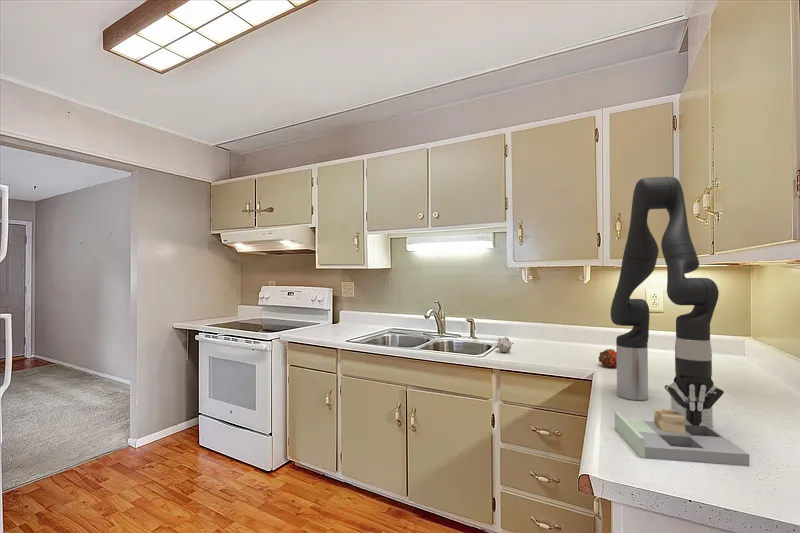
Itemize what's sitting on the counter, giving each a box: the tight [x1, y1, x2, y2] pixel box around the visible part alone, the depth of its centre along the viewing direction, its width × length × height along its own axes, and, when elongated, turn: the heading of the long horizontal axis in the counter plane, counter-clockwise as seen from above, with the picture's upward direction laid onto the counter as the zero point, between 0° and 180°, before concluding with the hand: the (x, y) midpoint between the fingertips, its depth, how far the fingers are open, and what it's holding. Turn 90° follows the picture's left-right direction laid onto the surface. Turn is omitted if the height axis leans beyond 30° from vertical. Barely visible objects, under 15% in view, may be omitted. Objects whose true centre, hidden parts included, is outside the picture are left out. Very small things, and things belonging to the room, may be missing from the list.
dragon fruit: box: [598, 348, 617, 369], centre depth 175 cm, size 8×8×12 cm
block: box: [653, 408, 685, 433], centre depth 101 cm, size 5×5×4 cm
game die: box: [494, 336, 514, 354], centre depth 206 cm, size 9×8×10 cm
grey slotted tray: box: [614, 411, 750, 467], centre depth 98 cm, size 17×22×4 cm
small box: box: [670, 387, 714, 428], centre depth 111 cm, size 8×6×10 cm
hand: (693, 424), depth 100 cm, fingers closed
